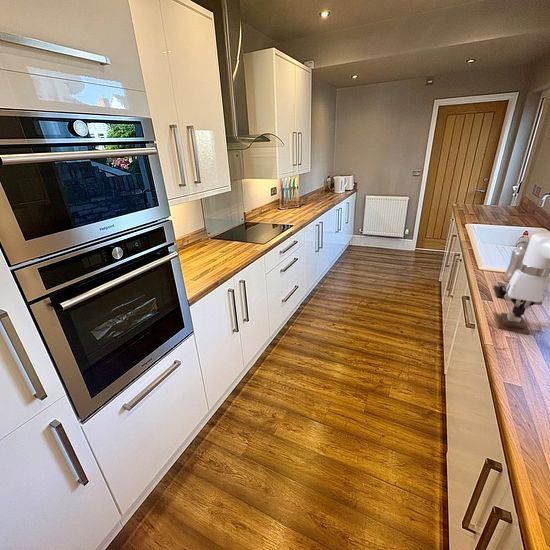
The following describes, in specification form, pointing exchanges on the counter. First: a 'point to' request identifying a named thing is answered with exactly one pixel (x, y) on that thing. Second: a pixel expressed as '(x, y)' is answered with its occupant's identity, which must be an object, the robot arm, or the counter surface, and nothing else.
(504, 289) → the keypad far
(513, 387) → the counter surface
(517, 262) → the plastic bottle
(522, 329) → the keypad near
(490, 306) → the counter surface
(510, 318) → the key near
